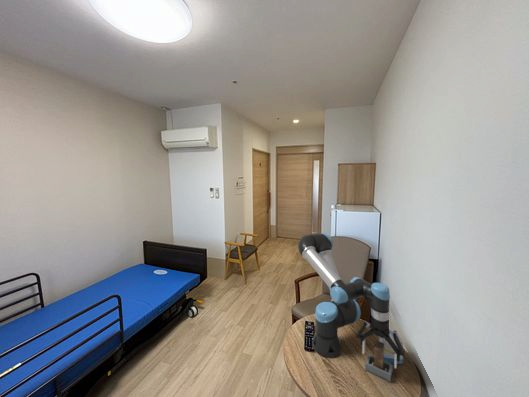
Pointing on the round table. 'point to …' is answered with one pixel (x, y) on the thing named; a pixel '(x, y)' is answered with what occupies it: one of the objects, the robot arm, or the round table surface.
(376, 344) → the wooden beam
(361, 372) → the round table surface
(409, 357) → the round table surface
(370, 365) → the grey tray with pegs
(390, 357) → the ink box
